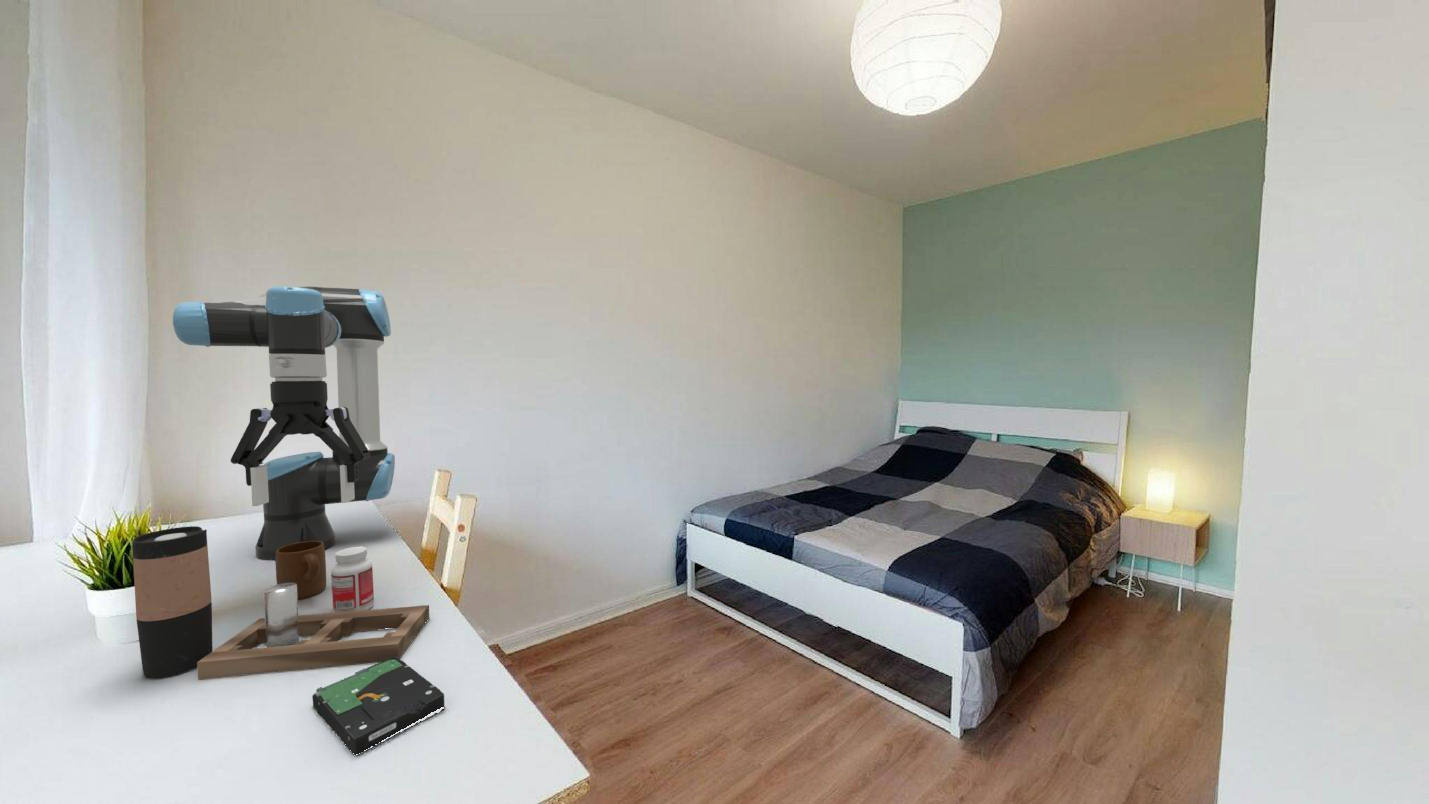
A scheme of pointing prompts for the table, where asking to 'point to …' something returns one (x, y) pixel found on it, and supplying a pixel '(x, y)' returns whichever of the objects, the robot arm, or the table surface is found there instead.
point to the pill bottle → (352, 581)
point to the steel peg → (281, 615)
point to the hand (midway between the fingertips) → (305, 502)
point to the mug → (302, 567)
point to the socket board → (317, 643)
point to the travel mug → (172, 600)
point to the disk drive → (376, 703)
